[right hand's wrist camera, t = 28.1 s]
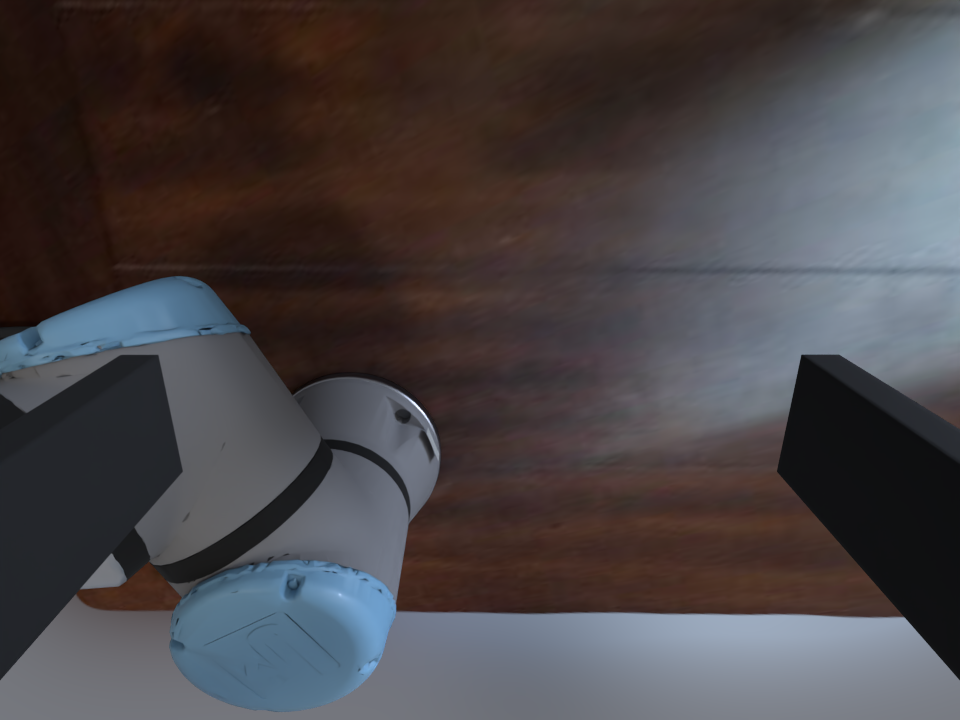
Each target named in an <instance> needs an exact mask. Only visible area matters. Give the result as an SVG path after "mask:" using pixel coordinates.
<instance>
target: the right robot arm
mask: <svg viewBox="0 0 960 720" xmlns="http://www.w3.org/2000/svg"><path fill="white" fill-rule="evenodd" d="M250 334H251V332H250V330H249V329H248V328H247V327H246V326H244V325H240V323H239V322H238V321H237V320H236V318H235V317H234V316H233V315H232V313H231V312H230V311H229V310H228V308H227V307H226V306H225V305H224V303H223V302H222V301H221V300H220V298H219V297H218V296H217V295H216V293H215V292H214V291H213V290H212V289H211V288H210V287H209V286H208V285H207V284H205V283H204V282H202V281H200V280H197V279H195V278H190V277H185V276H175V277H167V278H162V279H157V280H153V281H150V282H146V283H143V284H140V285H137V286H133V287H130V288H127V289H124V290H121V291H118V292H115V293H113V294H110V295H107V296H104V297H102V298H99V299H96V300H93V301H91V302H88V303H86V304H83V305H80V306H78V307H75V308H73V309H70V310H68V311H65V312H63V313H60V314H58V315H56V316H53V317H51V318H49V319H47V320H44V321H42V322H41V323H40V324H39V325H37V326H36V327H2V328H0V338H4V339H2V340H0V680H1V679H2V678H3V676H4V675H5V674H6V673H7V672H8V671H9V669H10V668H11V667H12V666H13V665H14V664H15V663H16V662H17V660H18V659H19V658H20V657H21V656H22V655H23V654H24V652H25V651H26V650H27V649H28V648H29V647H30V646H31V644H32V643H33V642H34V641H35V640H36V639H37V638H38V636H39V635H40V634H41V633H42V632H43V631H44V630H45V628H46V627H47V626H48V625H49V624H50V623H51V622H52V620H53V619H54V618H55V617H56V616H57V615H58V614H59V612H60V611H61V610H62V609H63V608H64V607H65V606H66V604H67V603H68V602H69V601H70V600H71V599H72V598H73V596H74V595H75V594H76V593H77V592H78V591H79V590H80V589H89V588H102V587H116V586H120V585H121V584H123V583H124V582H126V581H127V580H128V579H129V578H130V577H132V576H133V575H134V574H135V573H136V572H137V571H138V570H140V569H141V568H142V567H143V566H144V565H145V564H146V563H148V562H150V563H151V564H152V565H153V566H154V567H155V568H156V569H157V571H158V572H159V573H160V574H161V575H162V576H163V577H164V578H165V579H166V580H167V581H168V583H169V584H170V585H171V586H172V587H173V588H174V589H175V590H176V591H177V592H178V593H179V595H180V596H181V597H182V599H181V600H180V602H179V603H178V604H177V606H176V608H175V610H174V612H173V614H172V619H171V627H170V635H171V638H172V639H171V641H170V646H169V648H170V651H171V655H172V658H173V660H174V662H175V664H176V665H177V667H178V668H179V670H180V671H181V673H182V674H183V675H184V676H185V677H186V678H187V679H188V680H189V681H190V682H191V683H192V684H193V685H194V686H196V687H197V688H199V689H200V690H202V691H203V692H205V693H206V694H208V695H210V696H212V697H214V698H216V699H218V700H220V701H223V702H225V703H228V704H231V705H234V706H238V707H242V708H247V709H251V710H268V711H274V712H291V711H300V710H306V709H311V708H315V707H319V706H322V705H325V704H328V703H331V702H333V701H336V700H338V699H340V698H342V697H344V696H346V695H347V694H349V693H350V692H352V691H353V690H355V689H356V688H357V687H359V686H360V685H361V684H362V683H363V682H364V681H365V680H366V679H367V678H368V677H369V676H370V675H371V673H372V672H373V671H374V669H375V668H376V666H377V664H378V662H379V661H380V659H381V656H382V653H383V651H384V647H385V643H386V639H387V635H388V631H389V629H390V628H391V625H392V623H393V621H394V619H395V615H396V599H397V593H398V587H399V580H400V574H401V568H402V562H403V555H404V549H405V543H406V537H407V531H408V524H409V523H410V521H411V520H412V519H413V518H414V516H415V515H416V514H417V513H418V511H419V510H420V509H421V508H422V507H423V505H424V504H425V503H426V501H427V500H428V498H429V497H430V495H431V493H432V491H433V488H434V486H435V483H436V481H437V478H438V474H439V468H440V461H441V444H440V438H439V434H438V431H437V428H436V426H435V423H434V421H433V419H432V418H431V416H430V414H429V413H428V411H427V410H426V409H425V407H424V406H423V405H422V404H421V403H420V402H419V401H418V400H417V399H416V398H415V397H414V396H413V395H412V394H411V393H409V392H408V391H407V390H405V389H404V388H402V387H401V386H399V385H397V384H395V383H393V382H391V381H389V380H386V379H384V378H381V377H377V376H374V375H369V374H363V373H337V374H331V375H327V376H323V377H320V378H317V379H315V380H313V381H311V382H309V383H307V384H305V385H303V386H302V387H300V388H299V389H298V390H296V391H295V392H294V393H293V394H291V393H290V391H289V390H288V388H287V387H286V386H285V384H284V383H283V381H282V380H281V379H280V377H279V376H278V374H277V373H276V372H275V370H274V369H273V367H272V366H271V365H270V363H269V362H268V360H267V359H266V358H265V356H264V355H263V353H262V352H261V351H260V349H259V348H258V346H257V345H256V344H255V342H254V341H253V339H252V338H251V337H250ZM777 472H778V473H779V474H780V476H781V477H782V478H783V479H784V480H785V481H786V482H787V484H788V485H789V486H790V487H791V488H792V489H793V490H794V492H795V493H796V494H797V495H798V496H799V497H800V498H801V500H802V501H803V502H804V503H805V504H806V505H807V506H808V508H809V509H810V510H811V511H812V512H813V513H814V514H815V515H816V517H817V518H818V519H819V520H820V521H821V522H822V523H823V525H824V526H825V527H826V528H827V529H828V530H829V531H830V533H831V534H832V535H833V536H834V537H835V538H836V539H837V541H838V542H839V543H840V544H841V545H842V546H843V547H844V549H845V550H846V551H847V552H848V553H849V554H850V555H851V557H852V558H853V559H854V560H855V561H856V562H857V563H858V565H859V566H860V567H861V568H862V569H863V570H864V571H865V573H866V574H867V575H868V576H869V577H870V578H871V579H872V581H873V582H874V583H875V584H876V585H877V586H878V587H879V589H880V590H881V591H882V592H883V593H884V594H885V595H886V597H887V598H888V599H889V600H890V601H891V602H892V603H893V604H894V606H895V607H896V608H897V609H898V610H899V611H900V612H901V614H902V615H903V616H904V617H905V618H906V619H907V620H908V622H909V623H910V624H911V625H912V626H913V627H914V628H915V630H916V631H917V632H918V633H919V634H920V635H921V636H922V638H923V639H924V640H925V641H926V642H927V643H928V644H929V645H930V647H931V648H932V649H933V650H934V651H935V652H936V654H937V655H938V656H939V657H940V658H941V659H942V660H943V662H944V663H945V664H946V665H947V666H948V667H949V668H950V670H951V671H952V672H953V673H954V674H955V675H956V676H957V678H958V679H959V680H960V429H958V428H957V427H955V426H953V425H952V424H950V423H949V422H947V421H945V420H944V419H942V418H941V417H939V416H937V415H936V414H934V413H932V412H931V411H929V410H928V409H926V408H924V407H923V406H921V405H920V404H918V403H916V402H915V401H913V400H911V399H910V398H908V397H907V396H905V395H903V394H902V393H900V392H898V391H897V390H895V389H894V388H892V387H890V386H889V385H887V384H886V383H884V382H882V381H881V380H879V379H877V378H876V377H874V376H873V375H871V374H869V373H868V372H866V371H865V370H863V369H861V368H860V367H858V366H856V365H855V364H853V363H852V362H850V361H848V360H847V359H845V358H844V357H842V356H840V355H801V360H800V365H799V369H798V374H797V379H796V384H795V388H794V393H793V398H792V403H791V407H790V412H789V417H788V422H787V426H786V431H785V436H784V441H783V445H782V450H781V455H780V460H779V464H778V469H777Z"/></svg>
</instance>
